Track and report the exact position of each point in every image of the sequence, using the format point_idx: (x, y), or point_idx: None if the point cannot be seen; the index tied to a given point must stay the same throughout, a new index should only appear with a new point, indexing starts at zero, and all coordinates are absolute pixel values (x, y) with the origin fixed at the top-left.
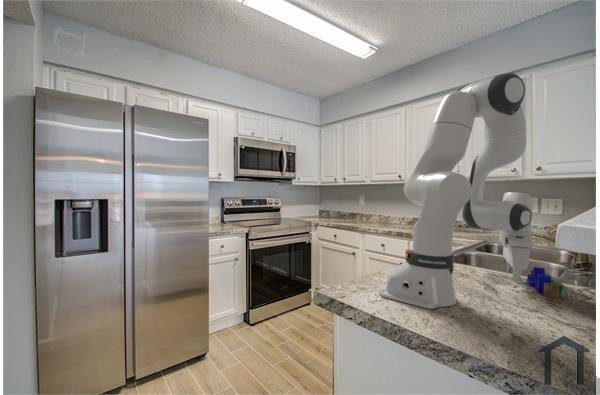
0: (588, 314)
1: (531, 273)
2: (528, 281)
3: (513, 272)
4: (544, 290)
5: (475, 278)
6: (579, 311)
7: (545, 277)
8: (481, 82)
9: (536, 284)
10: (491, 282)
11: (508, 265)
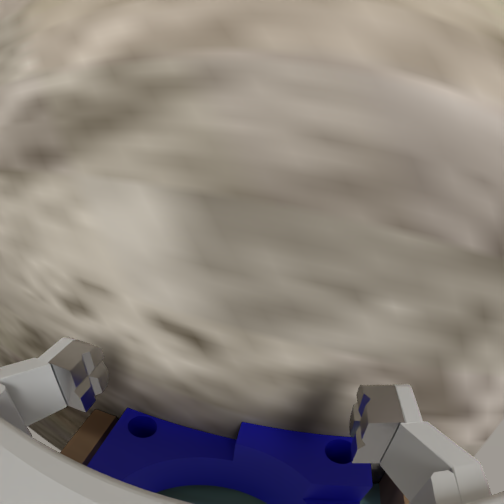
0: None
1: (401, 497)
2: (306, 448)
3: (12, 370)
4: (88, 430)
5: (287, 17)
6: None
7: None
8: None
9: (180, 454)
10: (209, 154)
11: (417, 451)
